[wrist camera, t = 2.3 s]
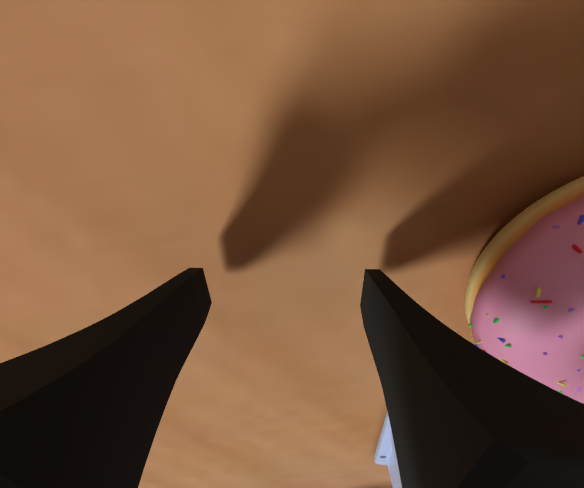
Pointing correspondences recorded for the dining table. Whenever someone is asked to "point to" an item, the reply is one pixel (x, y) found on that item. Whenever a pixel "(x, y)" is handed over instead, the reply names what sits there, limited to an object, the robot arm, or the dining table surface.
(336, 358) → the dining table surface
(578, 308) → the doughnut
